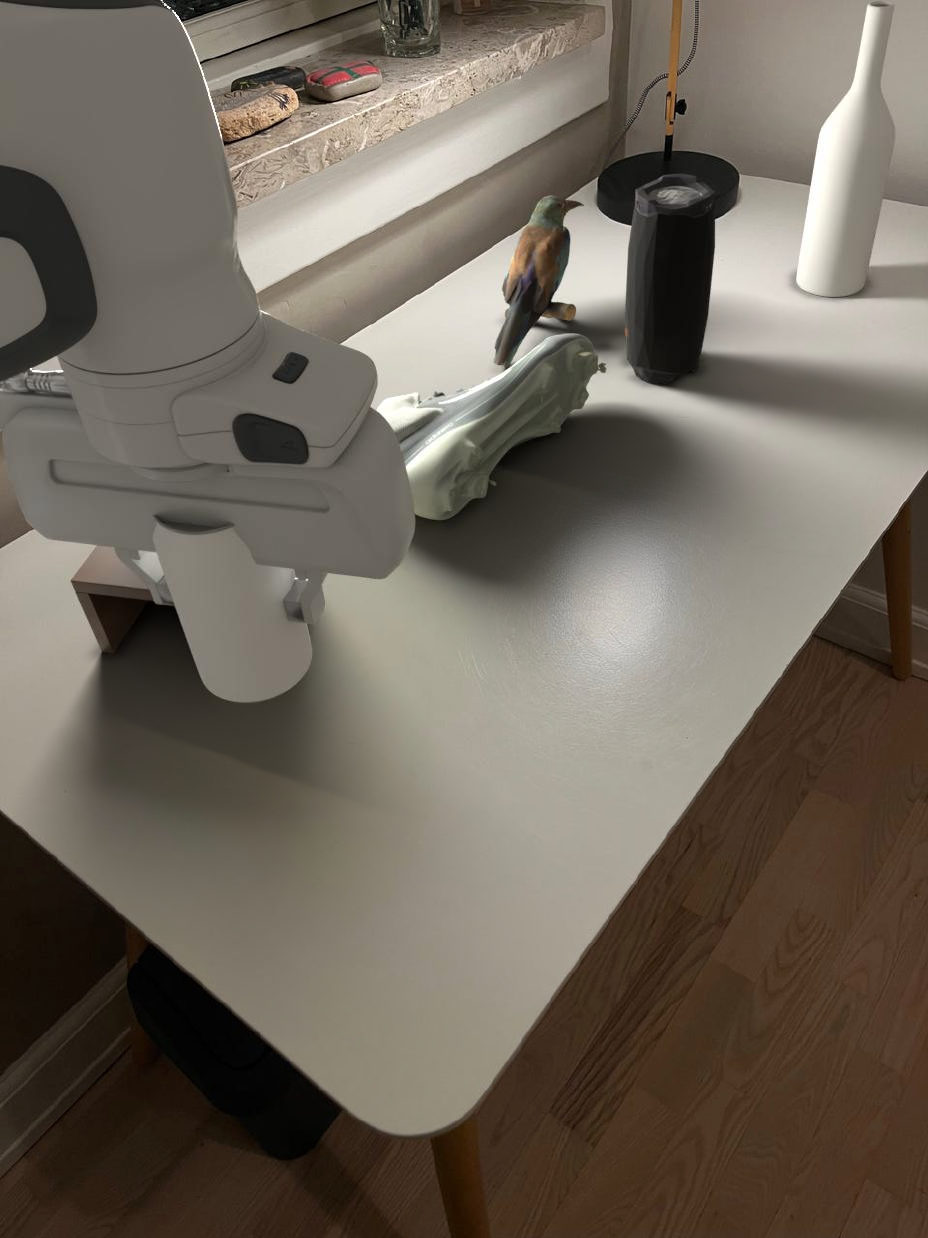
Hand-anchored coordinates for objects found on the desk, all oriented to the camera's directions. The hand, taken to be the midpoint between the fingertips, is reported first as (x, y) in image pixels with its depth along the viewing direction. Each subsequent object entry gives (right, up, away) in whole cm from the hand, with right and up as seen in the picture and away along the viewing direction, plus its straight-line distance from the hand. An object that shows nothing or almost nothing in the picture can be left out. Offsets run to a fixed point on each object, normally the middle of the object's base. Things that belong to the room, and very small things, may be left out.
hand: (241, 606), depth 56 cm
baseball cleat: (+13, +17, +50) cm, 54 cm away
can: (0, -3, +3) cm, 5 cm away
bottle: (+57, +40, +70) cm, 99 cm away
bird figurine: (+21, +34, +67) cm, 78 cm away
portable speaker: (+34, +27, +59) cm, 73 cm away
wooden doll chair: (-11, 0, +34) cm, 36 cm away
